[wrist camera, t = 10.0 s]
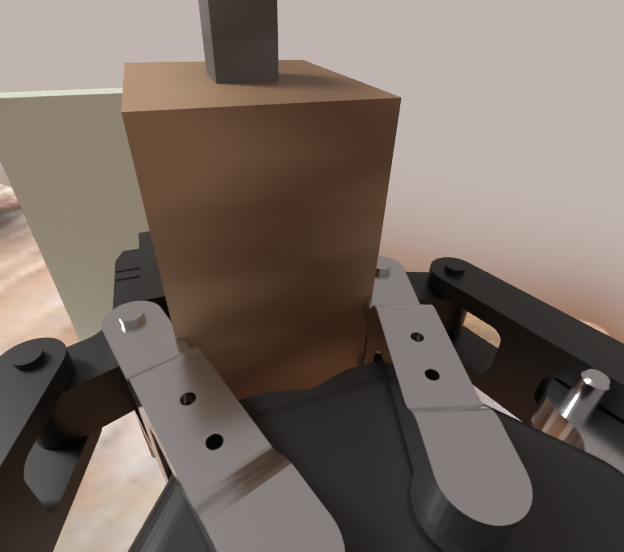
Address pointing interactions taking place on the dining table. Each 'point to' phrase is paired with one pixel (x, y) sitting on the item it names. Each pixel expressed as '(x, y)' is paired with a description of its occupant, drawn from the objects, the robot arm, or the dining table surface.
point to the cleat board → (74, 191)
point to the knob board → (261, 199)
